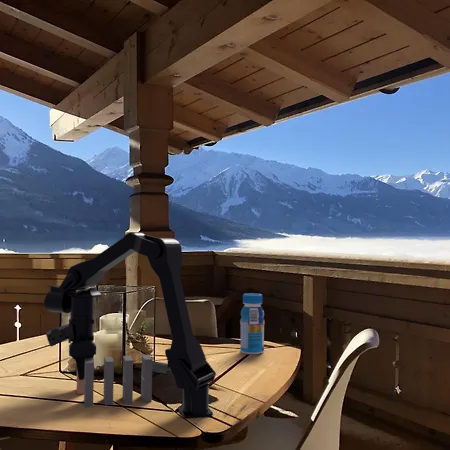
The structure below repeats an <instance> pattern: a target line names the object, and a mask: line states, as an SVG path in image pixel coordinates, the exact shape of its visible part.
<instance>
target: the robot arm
mask: <svg viewBox="0 0 450 450" xmlns="http://www.w3.org/2000/svg"><path fill="white" fill-rule="evenodd" d="M181 245H182V244H181V243H180V242H179V241H178V240H176V239H175V238H171V237H170V238H168V237H155V236H153V235H148V234H145V233H143V232H140V231H139V232H137V231H135V232H133V231H129V232H127V233H126V234H125V235H124V236H123V237H122V238H121V239H119V240H116V242H115V243H113V244H111V245H110V246H109V247H107V248H106V249H104V250H103V251H101V252H100V253H99V254H98V255H96V256H94V257H93V258H90V259H88V260H85V261H81V262H78V263H76V264H74V265H72V266H71V265H70V267H69V268H68V269H67V274H66V275H65V277H64V279H63V280H62V282H61V284H60V285H51V286H50V290H49V291H48V292H47V293H46V294H45V298H44V300H43V304H44V308H45V309H46V310H47V311H48V312H51V313H60V314H61V313H62V314H70V316H69V319H68V323H67V324H65V325H61V326H59V327H55V328H51V330H48V331H46V333H45V336H46V339H47V342H48V345H49V346H50V347H54V346H56V345H57V344H60V343H62V342H65V341H68V342H67V343H68V356H69V357H71V358H73V359H74V361H75V365H76V366H75V367H76V373H77V372H78V377H79V380H83V379H84V377H85V358H93V359H94V356H96V355H97V344H96V342H94V340H95V336H94V324H95V319H94V317H95V315H94V313H95V312H94V311H95V298H101V297H102V294H101V292H99V291H98V290H97V289H96V287H95V286H96V285H97V284H99V282H100V281H101V280H102V279H103V278H104V276H105V274H106V272H108V271H109V270H111V269H112V268H113V267H115V266H116V265H118V264H119V263H121V262H123V261H124V260H125V259H127V258H128V257H129V256H131V255H133V254H134V253H135V252H136V253H138V254H139V255H142V256H145V257H146V258H147V261H148V263H149V267H150V268H151V269H152V271H153V273H154V274H155V275H156V276H157V277H158V279H159V283H160V288H161V293H162V297H163V303H164V304H163V305H164V308H165V312H166V318H167V322H168V326H169V330H170V335H171V345H170V347H168V348H166V349H165V350H164V354H165V358H166V360H167V364H168V367H167V368H170V370H171V373H170V374H172V375H173V377H174V380H175V383H176V387H177V388H178V389H182V406H178V411H179V412H180V414H181V415H182V417H183V418H184V419H186V418H187V419H189V418H197V417H198V418H199V417H210V416H213V415H214V412H213V410H211V409H210V407H209V387H210V386H209V385H210V383H213V382H214V381H215V379H216V376H217V373H216V371H215V370H214V369H213V367H212V366H211V365H210V362H208V361H207V357H206V355H205V353H204V352H205V351H204V350H203V347H202V345H201V343H200V341H198V339H197V338H196V337H195V335H194V334H193V333H194V332H193V328H192V324H191V319H190V316H189V315H190V314H189V310H188V305H187V301H186V297H185V292H184V288H183V283H182V278H181V270H182V269H181V268H182V265H183V251H182V249H183V248H182V246H181Z"/></svg>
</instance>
